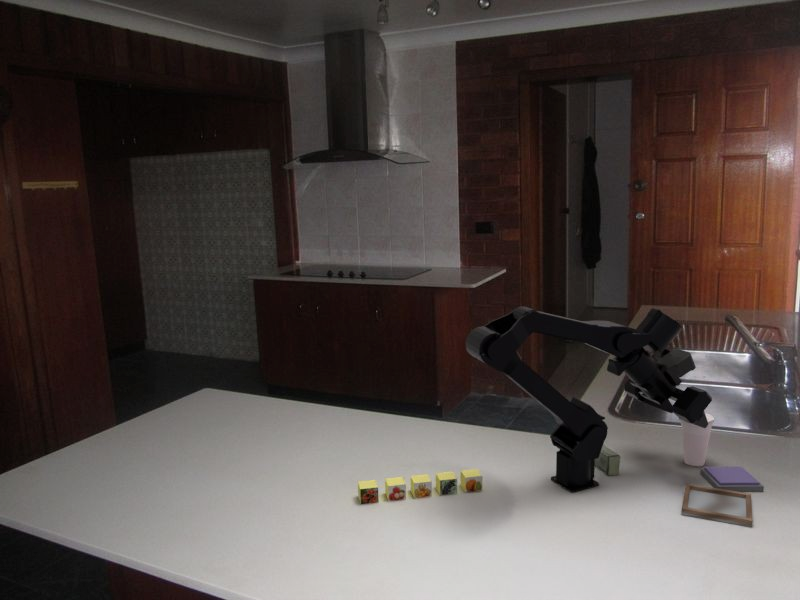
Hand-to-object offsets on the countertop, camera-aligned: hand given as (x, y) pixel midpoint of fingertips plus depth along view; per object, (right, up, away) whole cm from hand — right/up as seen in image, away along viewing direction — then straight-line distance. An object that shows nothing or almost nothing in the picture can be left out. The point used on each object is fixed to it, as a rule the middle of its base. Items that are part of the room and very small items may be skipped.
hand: (689, 418), depth 132 cm
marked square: (-2, -12, -16) cm, 21 cm away
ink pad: (+5, -11, -7) cm, 14 cm away
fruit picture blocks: (-52, -13, -10) cm, 54 cm away
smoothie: (+2, -9, +2) cm, 10 cm away
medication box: (-17, -10, +3) cm, 20 cm away
